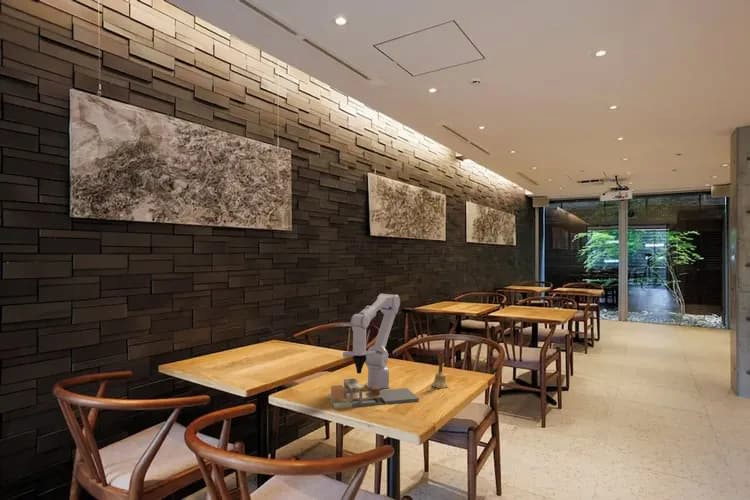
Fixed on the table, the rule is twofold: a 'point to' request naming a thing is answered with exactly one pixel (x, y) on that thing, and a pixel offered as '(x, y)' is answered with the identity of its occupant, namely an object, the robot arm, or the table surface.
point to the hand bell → (440, 374)
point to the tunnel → (352, 388)
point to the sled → (372, 394)
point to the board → (380, 399)
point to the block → (337, 392)
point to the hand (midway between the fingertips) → (358, 372)
